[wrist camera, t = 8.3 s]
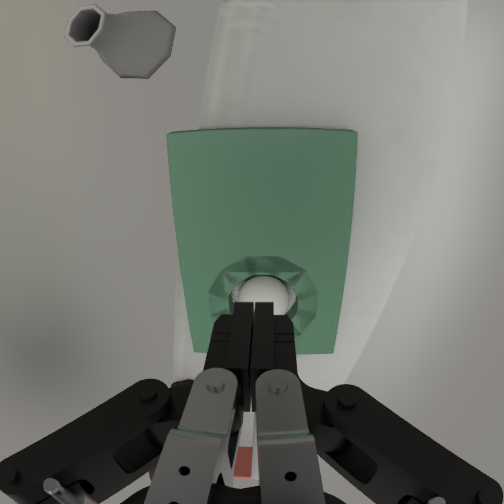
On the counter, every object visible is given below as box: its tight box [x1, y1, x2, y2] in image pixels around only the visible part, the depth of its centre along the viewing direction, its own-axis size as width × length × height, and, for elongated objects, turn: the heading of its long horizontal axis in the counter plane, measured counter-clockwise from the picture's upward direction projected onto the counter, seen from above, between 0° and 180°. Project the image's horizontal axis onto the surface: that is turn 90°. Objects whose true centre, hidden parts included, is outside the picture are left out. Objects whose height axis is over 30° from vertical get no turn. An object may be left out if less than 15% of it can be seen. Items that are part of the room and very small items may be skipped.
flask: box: [64, 4, 176, 79], centre depth 19 cm, size 7×7×10 cm
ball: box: [238, 275, 289, 315], centre depth 31 cm, size 5×5×5 cm
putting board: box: [167, 127, 357, 481], centre depth 24 cm, size 24×16×18 cm, turn 1°
